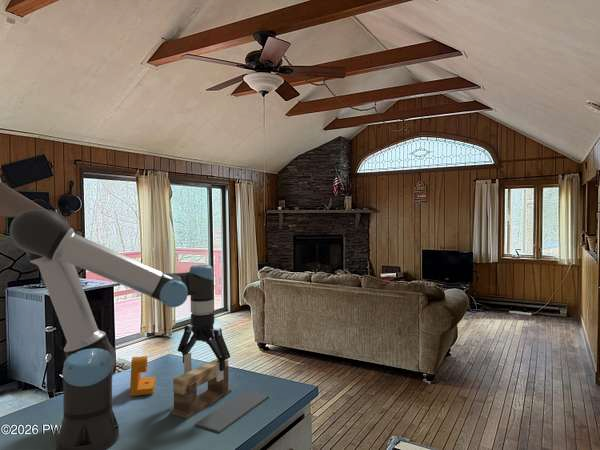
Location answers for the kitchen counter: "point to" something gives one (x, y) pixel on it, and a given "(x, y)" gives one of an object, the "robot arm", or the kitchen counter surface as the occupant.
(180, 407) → the bracket
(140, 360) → the orange hinge mount
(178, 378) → the rail
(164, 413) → the kitchen counter surface
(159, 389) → the kitchen counter surface
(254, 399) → the mat
